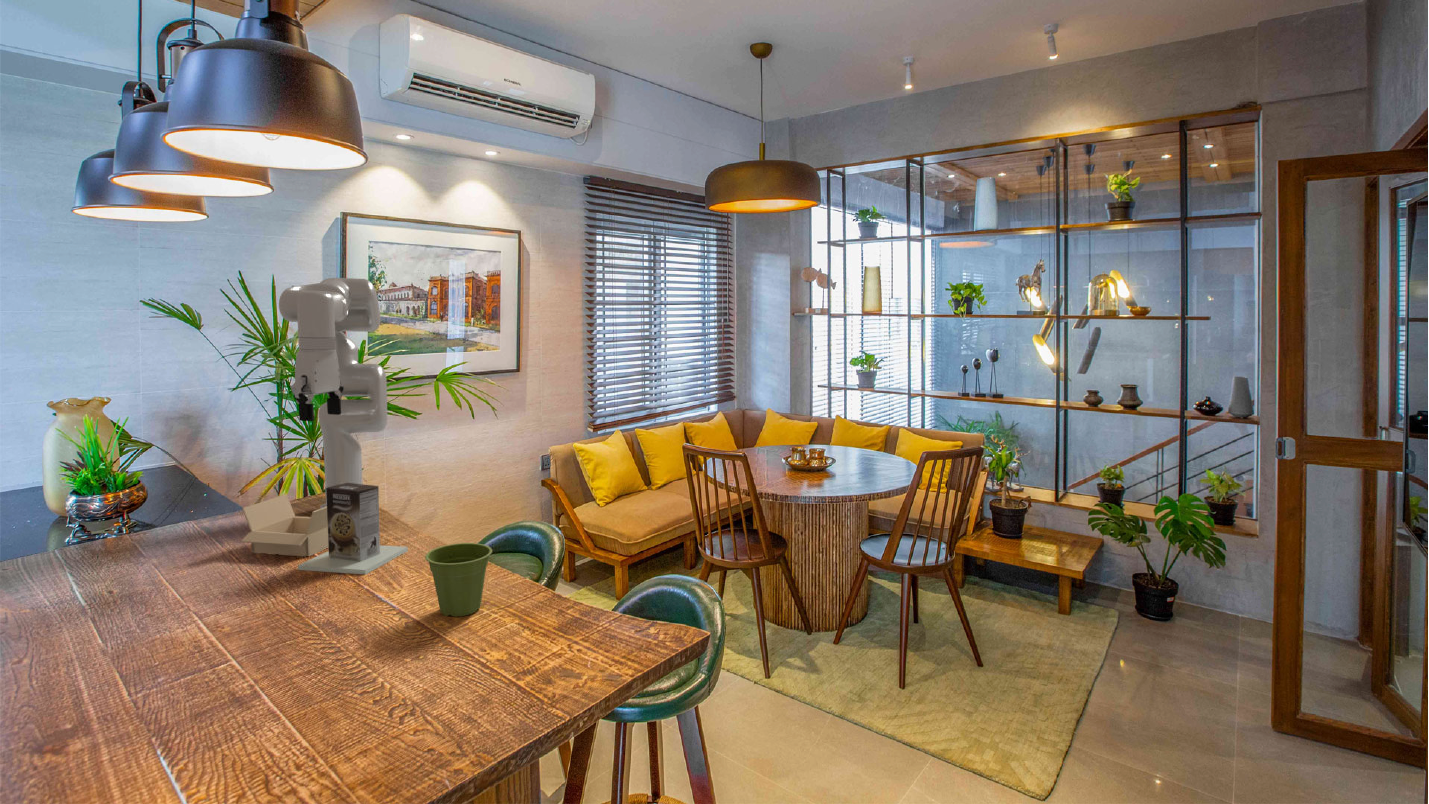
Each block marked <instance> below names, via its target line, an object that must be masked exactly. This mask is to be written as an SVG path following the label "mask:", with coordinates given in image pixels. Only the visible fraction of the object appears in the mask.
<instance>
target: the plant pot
mask: <svg viewBox="0 0 1429 804" xmlns="http://www.w3.org/2000/svg"><path fill="white" fill-rule="evenodd" d="M492 553H493V548H492V547H490V546H489V545H487V544H482V543H477V542H476V543H475V542H460V543H453V544H446V545H442V546H438V547H435V548H433V549H431V550H429V551H427V553H426V554H425V555H424V559H425V560H426V562H428V564H429V568H430V569H429V570H430V572H431V574H432V576H433V577H432V578H433V581H434V588H435V592H436V597H437V601H438V607H439V611H440V613H441V614H442V615H444V616H453V617H457V616H460V617H465V616H469V614H470V615H471V614H474V613H476V612H477V610H480V608H481V605H482V599H483V591H484V586H485V584H484V583H485V578H486V572H487V567H488V566H489V565H488V564H489V558H490V556H491V555H492ZM457 618H458V617H457Z"/></svg>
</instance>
